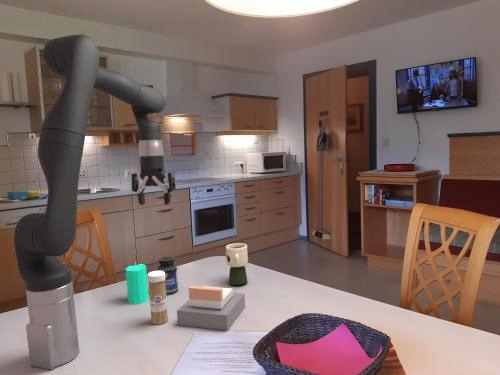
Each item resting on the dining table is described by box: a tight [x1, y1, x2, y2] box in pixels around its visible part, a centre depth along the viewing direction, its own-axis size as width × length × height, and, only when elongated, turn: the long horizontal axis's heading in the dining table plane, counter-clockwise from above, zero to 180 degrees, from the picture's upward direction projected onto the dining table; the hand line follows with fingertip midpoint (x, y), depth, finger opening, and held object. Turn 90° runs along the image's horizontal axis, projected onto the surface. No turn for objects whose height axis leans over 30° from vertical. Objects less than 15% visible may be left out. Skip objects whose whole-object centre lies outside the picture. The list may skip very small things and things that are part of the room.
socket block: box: [176, 292, 246, 331], centre depth 104 cm, size 14×14×4 cm
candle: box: [125, 262, 149, 305], centre depth 116 cm, size 6×6×12 cm
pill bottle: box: [157, 256, 179, 296], centre depth 122 cm, size 6×6×11 cm
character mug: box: [225, 242, 249, 286], centre depth 126 cm, size 11×7×13 cm, turn 2°
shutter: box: [188, 285, 234, 309], centre depth 103 cm, size 9×9×5 cm
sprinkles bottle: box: [147, 270, 169, 325], centre depth 101 cm, size 5×5×13 cm
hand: (154, 204), depth 123 cm, fingers open, 8 cm apart
